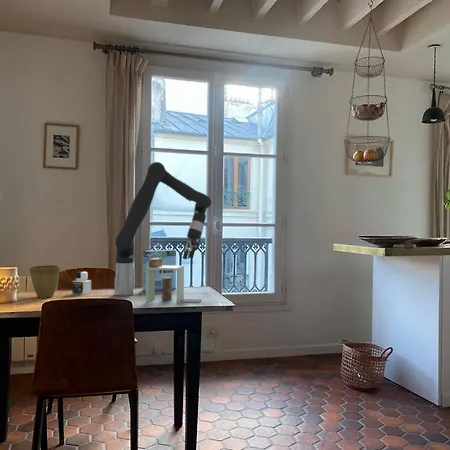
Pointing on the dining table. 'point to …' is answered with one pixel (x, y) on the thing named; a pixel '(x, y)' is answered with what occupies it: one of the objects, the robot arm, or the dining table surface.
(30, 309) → the dining table surface
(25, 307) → the dining table surface
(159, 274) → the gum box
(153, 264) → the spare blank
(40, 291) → the plant pot
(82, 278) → the medicine bottle
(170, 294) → the block
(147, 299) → the shelf
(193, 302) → the mat
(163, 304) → the dining table surface
